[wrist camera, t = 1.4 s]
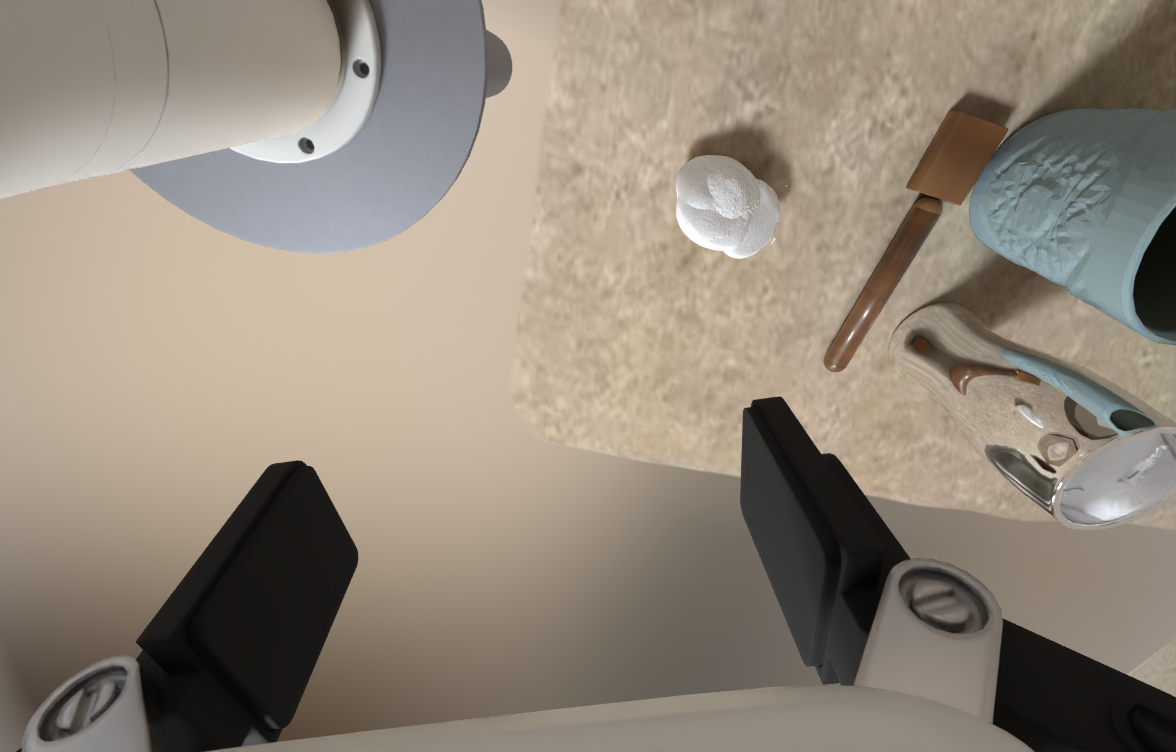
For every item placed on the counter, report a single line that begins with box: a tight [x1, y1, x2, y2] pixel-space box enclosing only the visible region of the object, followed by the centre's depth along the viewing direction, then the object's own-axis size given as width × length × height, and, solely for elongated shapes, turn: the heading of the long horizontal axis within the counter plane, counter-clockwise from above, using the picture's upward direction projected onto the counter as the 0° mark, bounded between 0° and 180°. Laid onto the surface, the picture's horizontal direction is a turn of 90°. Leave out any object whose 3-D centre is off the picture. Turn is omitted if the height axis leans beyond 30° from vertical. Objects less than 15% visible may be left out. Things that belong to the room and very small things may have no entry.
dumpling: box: [676, 155, 787, 258], centre depth 30 cm, size 7×5×4 cm
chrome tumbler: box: [888, 303, 1176, 530], centre depth 31 cm, size 7×7×15 cm
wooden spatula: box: [824, 111, 1008, 372], centre depth 33 cm, size 17×3×2 cm, turn 164°
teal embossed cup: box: [969, 108, 1176, 345], centre depth 27 cm, size 10×10×12 cm
